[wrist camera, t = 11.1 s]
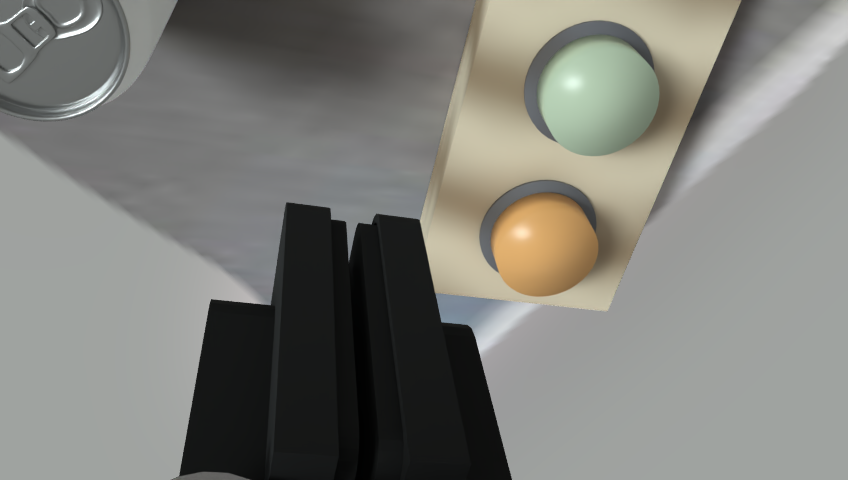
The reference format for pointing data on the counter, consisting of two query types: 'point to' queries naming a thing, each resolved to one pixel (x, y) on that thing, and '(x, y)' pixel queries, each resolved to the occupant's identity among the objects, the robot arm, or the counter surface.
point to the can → (74, 53)
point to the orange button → (543, 244)
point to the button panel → (537, 148)
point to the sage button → (597, 95)
